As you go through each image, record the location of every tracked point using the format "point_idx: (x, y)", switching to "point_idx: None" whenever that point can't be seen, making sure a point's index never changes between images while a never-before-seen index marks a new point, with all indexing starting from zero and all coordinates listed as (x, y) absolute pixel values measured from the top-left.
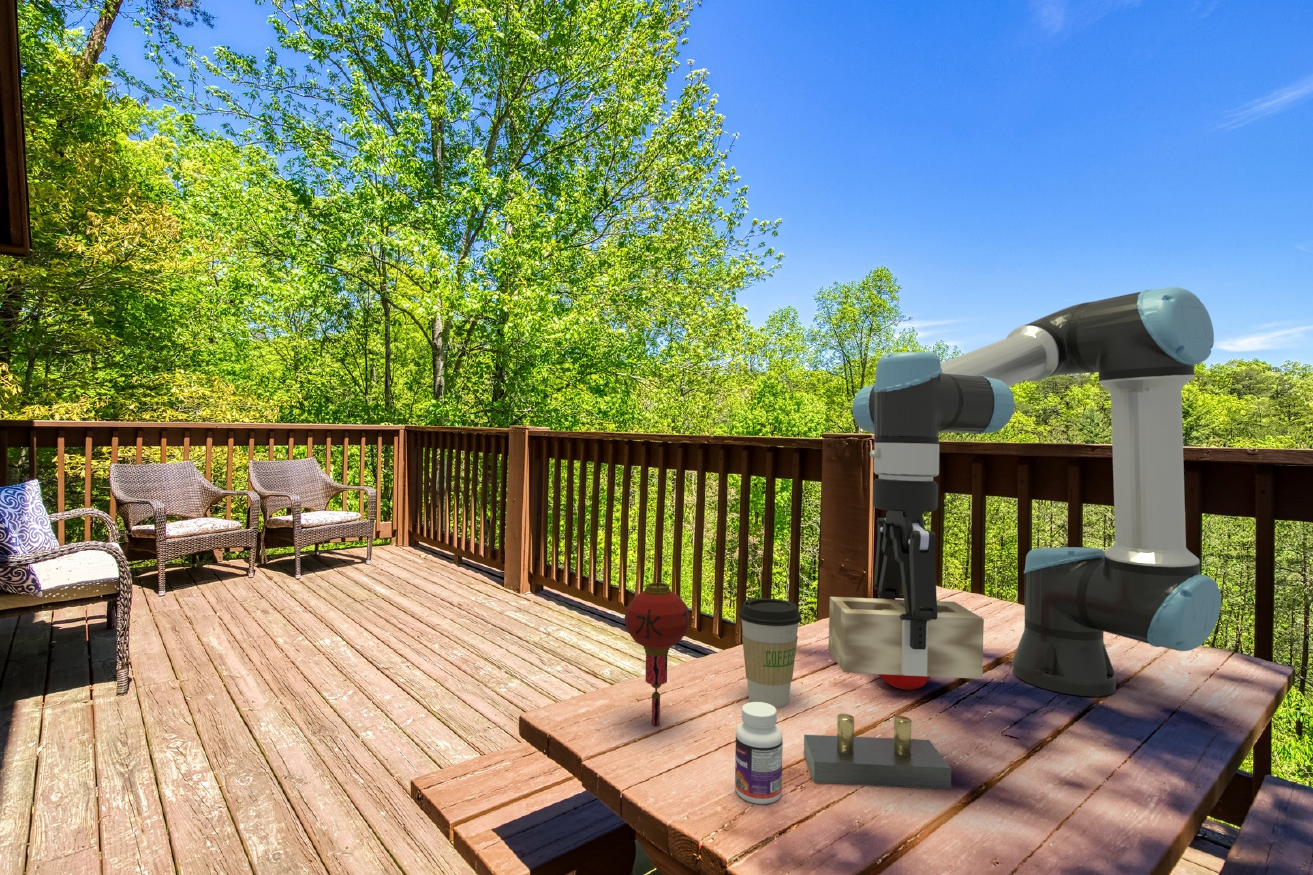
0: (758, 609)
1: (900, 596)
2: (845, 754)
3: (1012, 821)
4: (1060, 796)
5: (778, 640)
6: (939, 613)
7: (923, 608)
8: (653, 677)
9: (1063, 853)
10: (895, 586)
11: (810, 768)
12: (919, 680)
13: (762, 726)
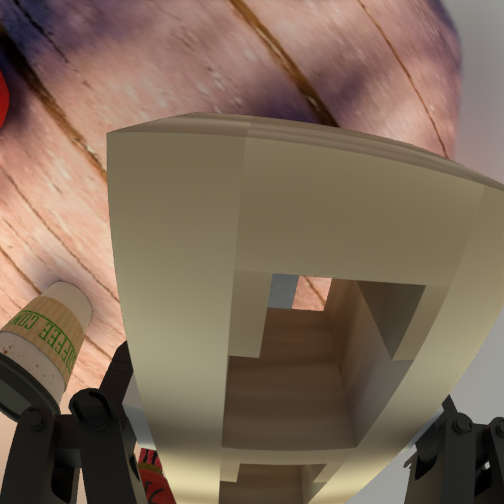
0: None
1: (116, 415)
2: (270, 293)
3: (392, 118)
4: (340, 11)
5: (57, 375)
6: (416, 374)
7: (486, 462)
8: None
9: (445, 107)
10: (134, 479)
11: None
12: (3, 83)
13: None
